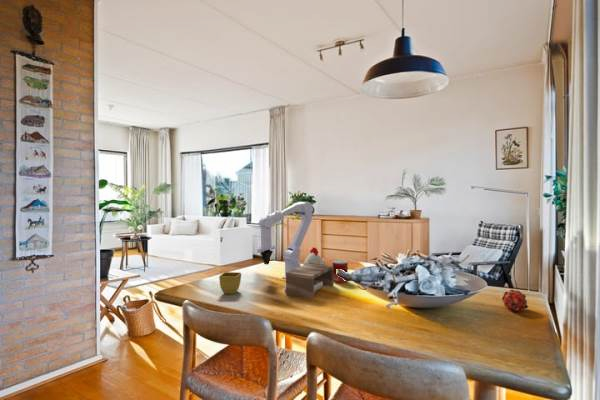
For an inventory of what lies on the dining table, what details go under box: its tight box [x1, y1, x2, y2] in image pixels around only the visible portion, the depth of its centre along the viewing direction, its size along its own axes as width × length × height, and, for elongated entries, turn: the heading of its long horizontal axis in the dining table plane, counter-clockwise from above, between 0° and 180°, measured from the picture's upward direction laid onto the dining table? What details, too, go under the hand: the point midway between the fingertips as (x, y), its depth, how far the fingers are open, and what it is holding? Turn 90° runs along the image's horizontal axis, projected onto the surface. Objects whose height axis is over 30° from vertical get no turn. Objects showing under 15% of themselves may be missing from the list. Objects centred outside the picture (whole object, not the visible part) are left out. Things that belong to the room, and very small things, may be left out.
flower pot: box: [218, 271, 242, 295], centre depth 165 cm, size 9×9×9 cm
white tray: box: [283, 280, 324, 293], centre depth 169 cm, size 16×13×6 cm
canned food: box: [332, 259, 349, 284], centre depth 183 cm, size 8×8×11 cm
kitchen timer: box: [302, 247, 326, 266], centre depth 204 cm, size 14×14×15 cm
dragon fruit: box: [501, 289, 529, 312], centre depth 137 cm, size 8×8×12 cm
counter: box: [285, 263, 335, 300], centre depth 168 cm, size 24×14×10 cm, turn 151°
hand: (266, 264), depth 185 cm, fingers closed
